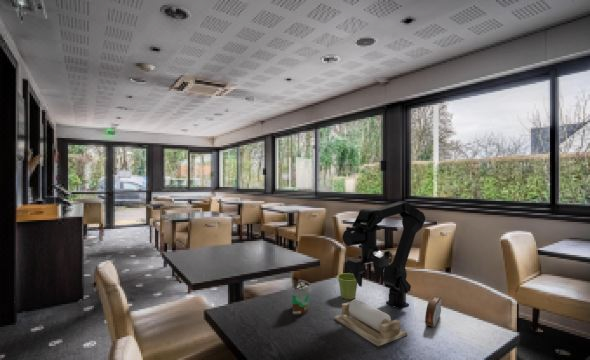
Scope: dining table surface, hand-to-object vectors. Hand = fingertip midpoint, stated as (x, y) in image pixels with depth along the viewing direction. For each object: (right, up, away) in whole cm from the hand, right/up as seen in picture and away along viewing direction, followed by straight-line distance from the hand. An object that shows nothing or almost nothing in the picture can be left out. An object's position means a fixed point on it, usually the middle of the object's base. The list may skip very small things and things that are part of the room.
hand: (369, 283), depth 117 cm
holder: (-3, -11, -11) cm, 16 cm away
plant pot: (-5, -11, +15) cm, 19 cm away
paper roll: (-3, -10, -11) cm, 15 cm away
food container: (-25, -11, +1) cm, 27 cm away
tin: (+21, -11, -8) cm, 25 cm away
